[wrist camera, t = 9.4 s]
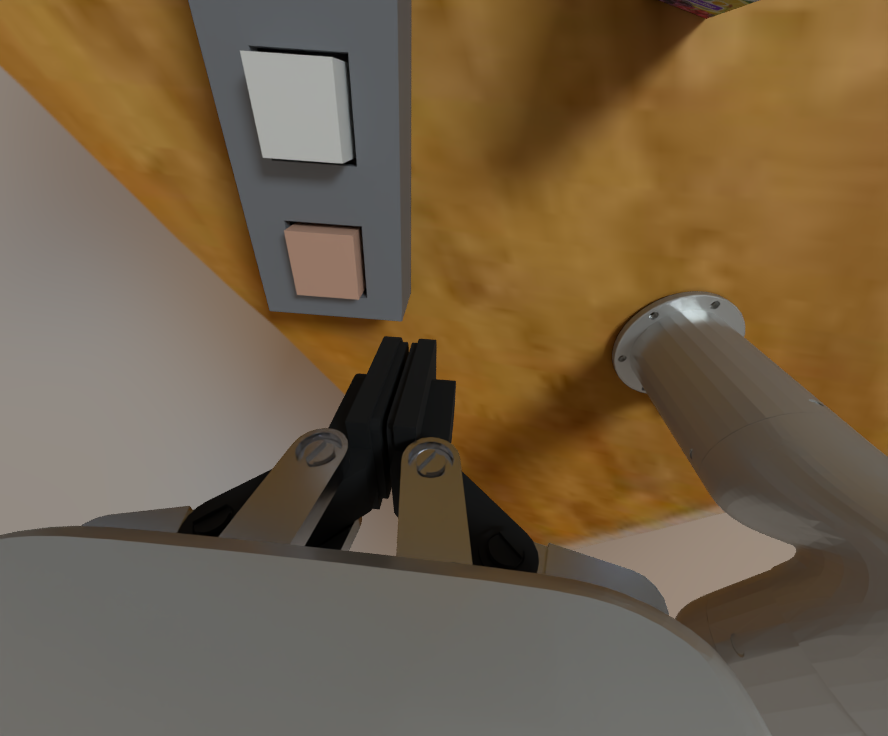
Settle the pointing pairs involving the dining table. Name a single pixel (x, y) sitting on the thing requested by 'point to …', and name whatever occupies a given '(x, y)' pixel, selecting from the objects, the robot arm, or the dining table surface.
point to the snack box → (708, 6)
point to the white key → (301, 106)
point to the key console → (321, 183)
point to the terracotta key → (327, 259)
